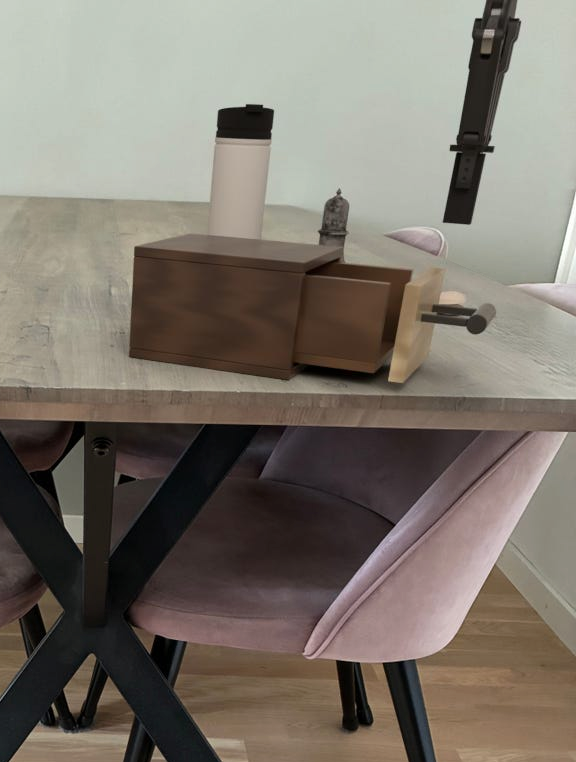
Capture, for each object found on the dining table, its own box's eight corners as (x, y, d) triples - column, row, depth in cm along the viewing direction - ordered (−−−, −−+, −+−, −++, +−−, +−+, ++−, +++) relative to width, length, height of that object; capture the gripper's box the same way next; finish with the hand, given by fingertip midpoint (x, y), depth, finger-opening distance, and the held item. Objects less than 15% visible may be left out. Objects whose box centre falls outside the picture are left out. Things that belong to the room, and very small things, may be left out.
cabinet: (328, 352, 88) (344, 247, 84) (288, 380, 78) (304, 262, 74) (182, 333, 94) (190, 233, 89) (128, 356, 84) (133, 246, 79)
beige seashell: (464, 319, 106) (469, 295, 104) (417, 315, 107) (422, 291, 105) (462, 312, 109) (467, 289, 108) (417, 308, 110) (422, 286, 109)
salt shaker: (357, 299, 115) (375, 189, 109) (332, 304, 111) (348, 191, 105) (316, 292, 118) (330, 185, 113) (289, 297, 115) (303, 187, 109)
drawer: (487, 364, 82) (507, 274, 79) (468, 392, 73) (490, 293, 70) (280, 337, 89) (290, 253, 86) (240, 360, 80) (250, 268, 77)
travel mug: (210, 300, 111) (227, 103, 101) (196, 290, 116) (211, 103, 106) (262, 300, 111) (284, 105, 102) (245, 291, 117) (265, 105, 107)
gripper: (478, -46, 94) (428, 215, 105) (463, -67, 83) (409, 225, 95) (560, -47, 91) (500, 221, 103) (555, -69, 81) (489, 231, 92)
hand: (456, 222), depth 99 cm, fingers closed
